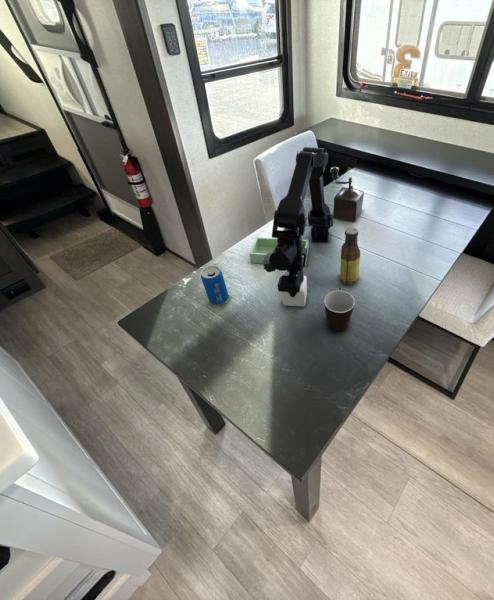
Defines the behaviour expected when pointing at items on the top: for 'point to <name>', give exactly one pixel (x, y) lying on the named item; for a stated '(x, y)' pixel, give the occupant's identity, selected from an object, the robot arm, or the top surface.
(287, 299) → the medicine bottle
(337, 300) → the coffee mug
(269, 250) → the green divided tray
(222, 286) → the beverage can
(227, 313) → the top surface
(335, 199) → the coffee grinder
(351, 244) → the sauce bottle
